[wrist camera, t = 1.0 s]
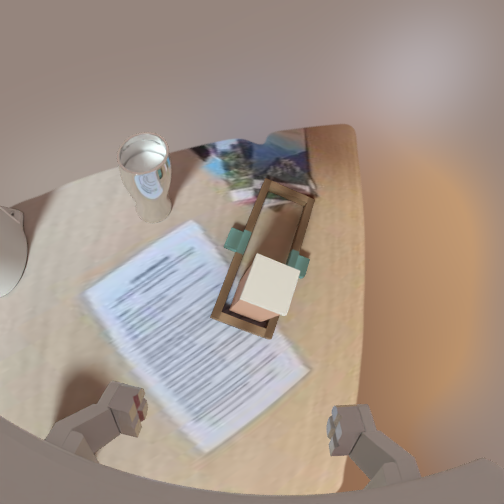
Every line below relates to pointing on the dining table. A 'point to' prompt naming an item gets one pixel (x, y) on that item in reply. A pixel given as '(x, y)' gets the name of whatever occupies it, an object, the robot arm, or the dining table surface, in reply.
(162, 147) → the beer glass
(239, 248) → the open rectangular frame
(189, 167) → the dining table surface
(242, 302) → the block
